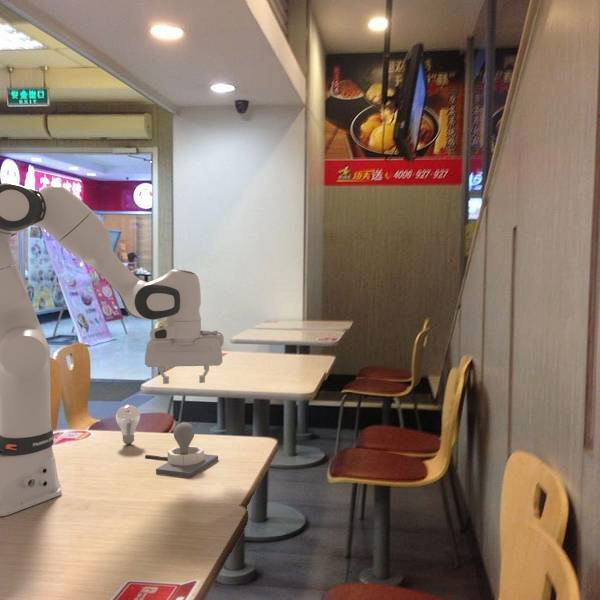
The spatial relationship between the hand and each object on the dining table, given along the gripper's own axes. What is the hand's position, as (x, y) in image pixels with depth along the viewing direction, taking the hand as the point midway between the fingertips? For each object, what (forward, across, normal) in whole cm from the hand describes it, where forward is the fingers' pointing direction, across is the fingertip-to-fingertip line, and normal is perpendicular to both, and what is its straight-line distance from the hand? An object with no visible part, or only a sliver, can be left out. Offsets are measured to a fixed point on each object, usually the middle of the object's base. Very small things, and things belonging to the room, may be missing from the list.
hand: (184, 382), depth 165 cm
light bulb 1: (+22, +16, -22) cm, 35 cm away
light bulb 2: (+21, 0, 0) cm, 21 cm away
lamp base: (+22, +3, -1) cm, 22 cm away
